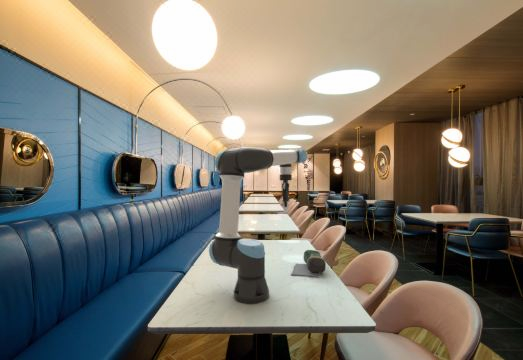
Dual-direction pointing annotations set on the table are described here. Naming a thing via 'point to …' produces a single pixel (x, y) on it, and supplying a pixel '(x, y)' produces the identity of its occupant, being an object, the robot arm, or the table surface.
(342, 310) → the table surface
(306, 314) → the table surface
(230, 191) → the robot arm
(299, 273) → the mat
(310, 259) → the coffee jar
